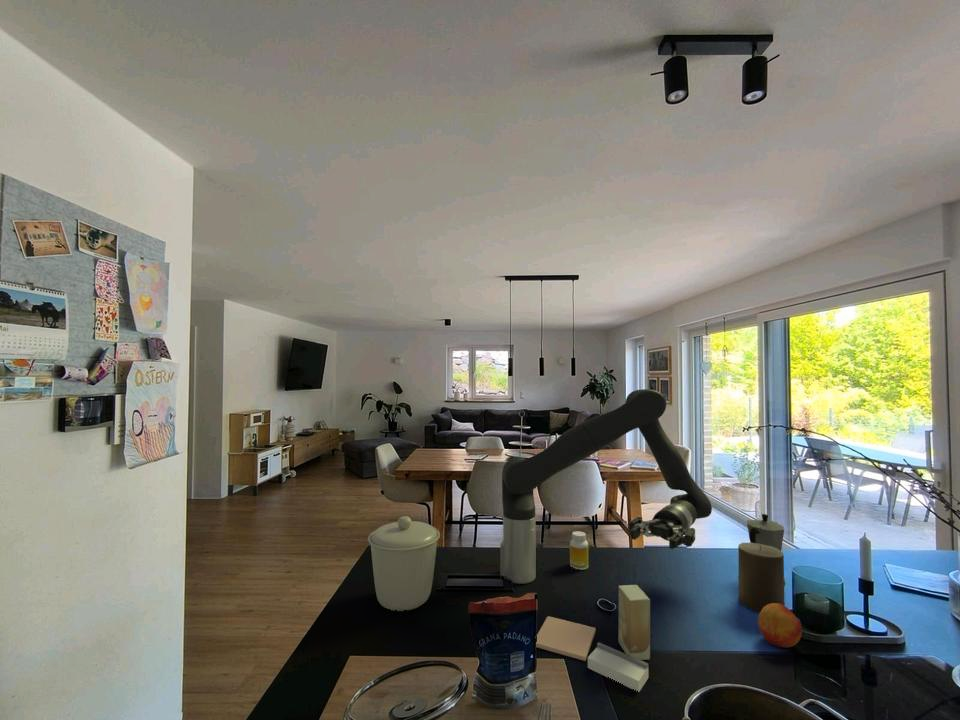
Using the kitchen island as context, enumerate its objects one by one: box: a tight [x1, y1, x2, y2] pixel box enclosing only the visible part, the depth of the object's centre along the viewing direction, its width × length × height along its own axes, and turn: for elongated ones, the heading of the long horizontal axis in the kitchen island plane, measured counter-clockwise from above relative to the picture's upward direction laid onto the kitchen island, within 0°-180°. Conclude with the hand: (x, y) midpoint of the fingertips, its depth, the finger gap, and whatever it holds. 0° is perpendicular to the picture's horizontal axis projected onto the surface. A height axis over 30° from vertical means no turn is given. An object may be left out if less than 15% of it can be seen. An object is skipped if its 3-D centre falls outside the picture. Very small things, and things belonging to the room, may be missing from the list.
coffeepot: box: [746, 513, 786, 585], centre depth 121 cm, size 15×9×18 cm, turn 125°
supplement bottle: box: [569, 531, 589, 571], centre depth 129 cm, size 5×5×10 cm
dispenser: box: [587, 642, 650, 693], centre depth 83 cm, size 10×5×3 cm, turn 50°
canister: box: [367, 515, 441, 612], centre depth 109 cm, size 18×18×21 cm
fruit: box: [757, 603, 803, 649], centre depth 92 cm, size 8×8×8 cm
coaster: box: [535, 615, 596, 662], centre depth 93 cm, size 11×11×1 cm
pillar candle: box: [737, 542, 786, 614], centre depth 108 cm, size 10×10×15 cm
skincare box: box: [617, 584, 651, 661], centre depth 89 cm, size 6×4×12 cm
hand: (651, 539), depth 98 cm, fingers open, 8 cm apart
